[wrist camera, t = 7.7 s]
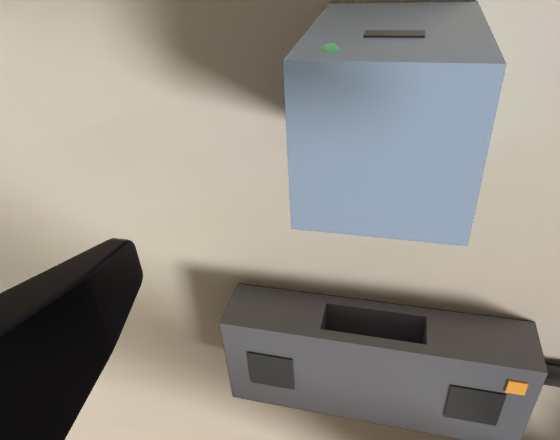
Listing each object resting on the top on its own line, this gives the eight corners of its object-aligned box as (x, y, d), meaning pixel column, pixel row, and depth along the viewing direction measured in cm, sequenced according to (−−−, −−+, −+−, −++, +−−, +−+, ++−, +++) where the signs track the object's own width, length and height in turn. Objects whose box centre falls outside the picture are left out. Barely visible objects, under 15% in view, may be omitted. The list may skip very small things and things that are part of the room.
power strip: (642, 420, 25) (667, 480, 22) (248, 355, 30) (232, 398, 27) (693, 342, 21) (728, 402, 19) (238, 283, 26) (218, 324, 24)
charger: (444, 199, 20) (452, 318, 15) (328, 190, 21) (294, 296, 16) (478, -4, 16) (507, 56, 10) (329, -2, 17) (282, 54, 11)
